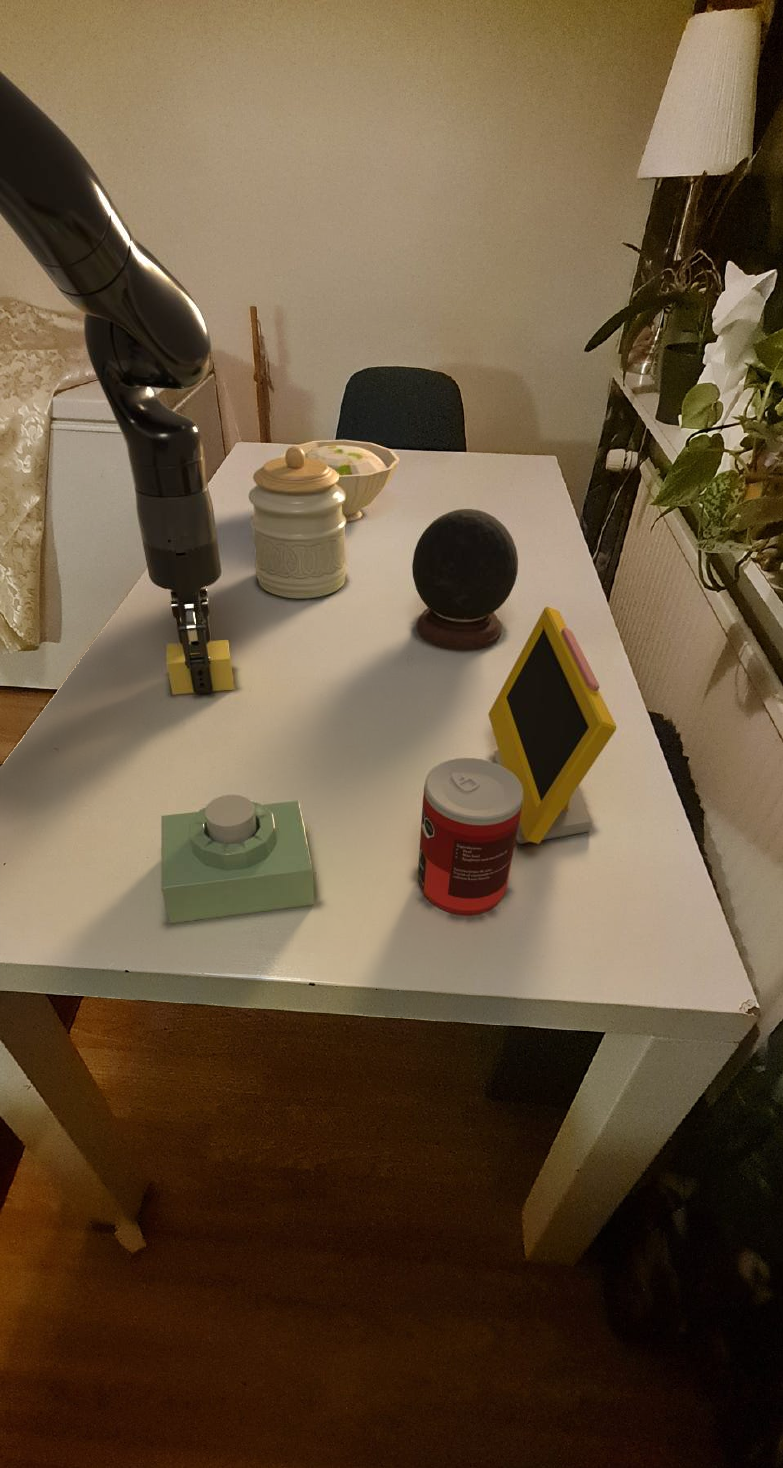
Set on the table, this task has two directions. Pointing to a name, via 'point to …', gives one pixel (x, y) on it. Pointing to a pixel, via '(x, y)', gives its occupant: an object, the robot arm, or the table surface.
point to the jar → (298, 527)
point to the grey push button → (230, 819)
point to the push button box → (235, 865)
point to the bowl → (355, 469)
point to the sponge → (218, 667)
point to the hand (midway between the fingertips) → (202, 679)
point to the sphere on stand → (463, 579)
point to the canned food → (468, 834)
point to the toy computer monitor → (550, 729)
